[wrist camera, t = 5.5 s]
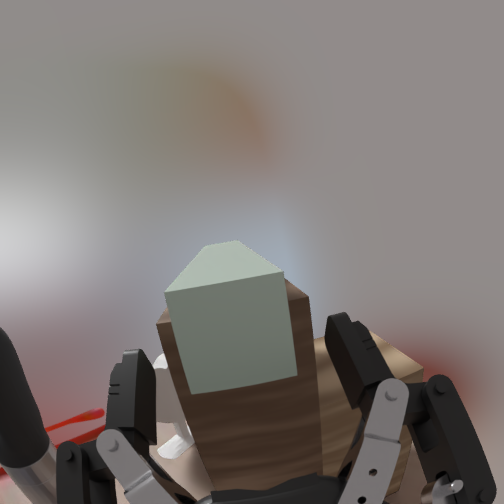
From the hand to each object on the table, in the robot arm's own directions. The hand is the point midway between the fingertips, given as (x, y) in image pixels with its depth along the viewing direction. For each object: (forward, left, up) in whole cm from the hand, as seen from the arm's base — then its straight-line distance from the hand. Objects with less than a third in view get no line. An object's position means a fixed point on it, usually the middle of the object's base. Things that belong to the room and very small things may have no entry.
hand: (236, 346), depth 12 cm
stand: (+16, +3, -33) cm, 36 cm away
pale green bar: (+10, +5, -1) cm, 11 cm away
